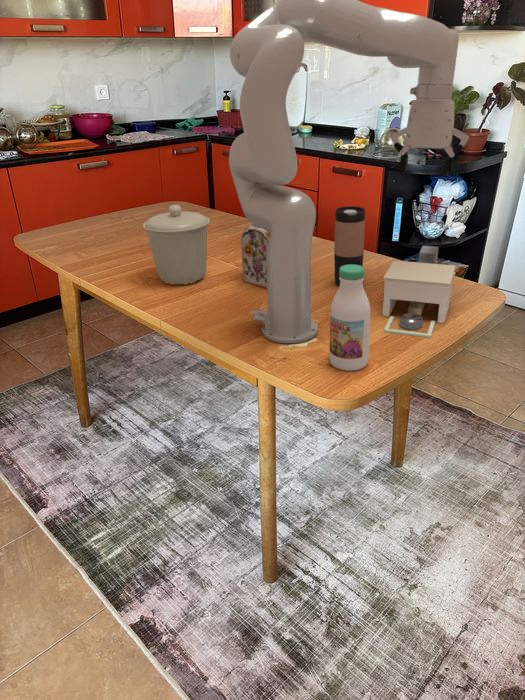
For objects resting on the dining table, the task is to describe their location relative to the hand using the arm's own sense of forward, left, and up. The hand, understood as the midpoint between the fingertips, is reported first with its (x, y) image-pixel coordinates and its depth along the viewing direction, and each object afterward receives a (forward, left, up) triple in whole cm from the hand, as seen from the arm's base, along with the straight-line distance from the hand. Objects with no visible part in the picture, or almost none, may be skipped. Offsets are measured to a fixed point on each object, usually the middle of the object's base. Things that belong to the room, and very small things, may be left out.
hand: (424, 173), depth 131 cm
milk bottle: (-7, -42, -30) cm, 52 cm away
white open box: (+2, -12, -30) cm, 32 cm away
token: (+2, -21, -30) cm, 37 cm away
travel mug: (-18, +1, -30) cm, 35 cm away
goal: (+2, -22, -30) cm, 37 cm away
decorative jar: (-39, -2, -30) cm, 49 cm away
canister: (-64, -8, -30) cm, 71 cm away
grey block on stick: (+2, -4, -30) cm, 30 cm away
